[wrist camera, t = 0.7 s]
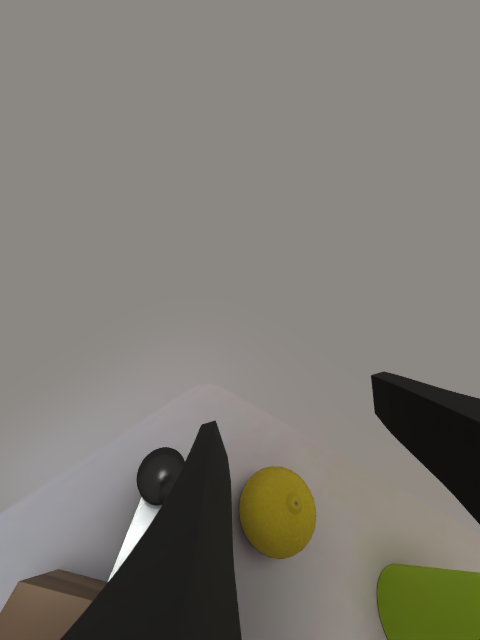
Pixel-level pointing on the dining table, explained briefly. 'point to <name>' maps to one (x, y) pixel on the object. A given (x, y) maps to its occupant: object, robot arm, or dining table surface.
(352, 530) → the dining table surface
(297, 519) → the lemon
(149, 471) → the shaft
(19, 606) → the bracket
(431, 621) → the soap dispenser
